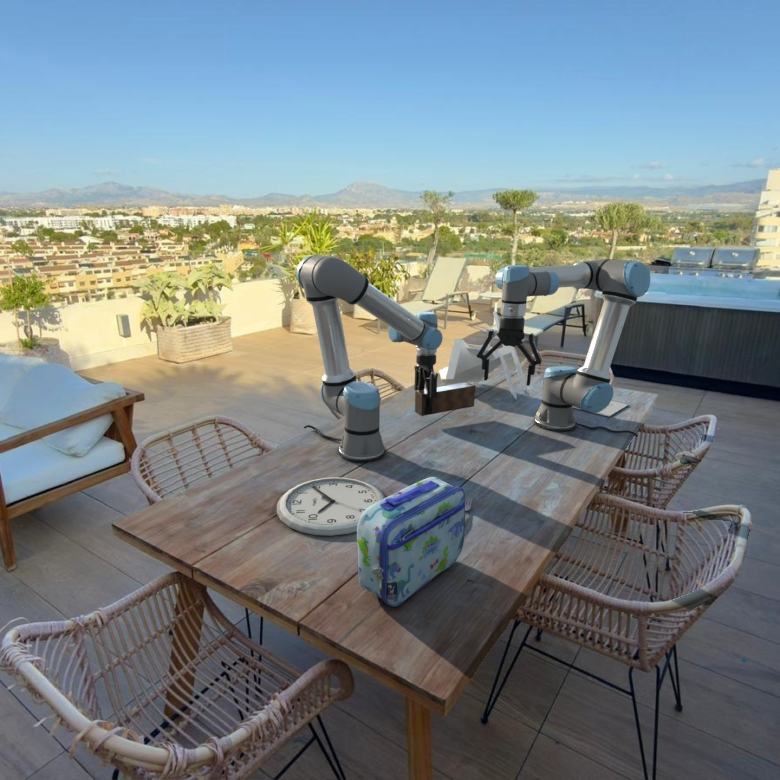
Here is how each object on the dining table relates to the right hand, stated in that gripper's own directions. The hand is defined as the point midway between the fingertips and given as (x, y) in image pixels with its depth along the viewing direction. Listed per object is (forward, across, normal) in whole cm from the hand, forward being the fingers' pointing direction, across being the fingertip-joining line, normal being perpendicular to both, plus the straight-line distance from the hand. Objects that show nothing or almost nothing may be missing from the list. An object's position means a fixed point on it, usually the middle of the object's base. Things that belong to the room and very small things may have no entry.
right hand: (506, 382), depth 169 cm
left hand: (+21, -33, +19) cm, 44 cm away
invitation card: (+26, +31, +68) cm, 79 cm away
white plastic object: (+26, -22, +66) cm, 74 cm away
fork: (+26, -2, -44) cm, 51 cm away
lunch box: (+26, -6, -73) cm, 78 cm away
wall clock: (+26, -36, -52) cm, 69 cm away
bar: (+22, -27, +26) cm, 44 cm away
